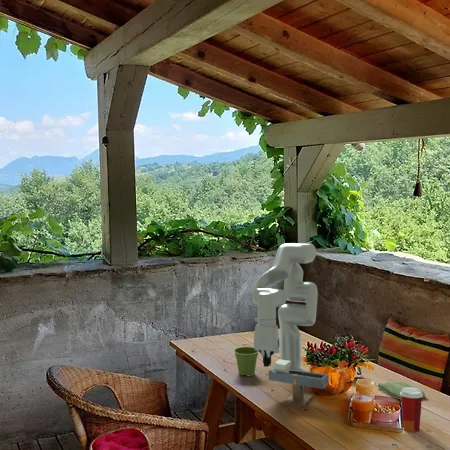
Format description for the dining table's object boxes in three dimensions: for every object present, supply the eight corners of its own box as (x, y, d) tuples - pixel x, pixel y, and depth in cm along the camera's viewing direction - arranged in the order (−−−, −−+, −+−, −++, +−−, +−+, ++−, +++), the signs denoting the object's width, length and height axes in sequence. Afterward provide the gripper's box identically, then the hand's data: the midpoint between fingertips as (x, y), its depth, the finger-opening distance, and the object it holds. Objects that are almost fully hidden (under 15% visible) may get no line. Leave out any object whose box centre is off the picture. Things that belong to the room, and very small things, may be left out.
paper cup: (417, 424, 209) (418, 386, 208) (425, 433, 201) (426, 394, 200) (396, 424, 209) (396, 387, 208) (403, 434, 201) (404, 394, 200)
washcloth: (401, 385, 251) (401, 378, 250) (427, 399, 234) (427, 391, 234) (375, 389, 247) (375, 381, 246) (399, 403, 230) (399, 395, 230)
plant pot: (229, 376, 264) (229, 352, 263) (240, 368, 274) (240, 345, 273) (252, 380, 258) (252, 355, 258) (263, 372, 269) (263, 348, 268)
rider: (273, 374, 234) (273, 363, 233) (279, 370, 239) (279, 359, 239) (284, 376, 231) (284, 365, 231) (290, 372, 237) (290, 360, 236)
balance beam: (266, 401, 233) (266, 372, 232) (277, 391, 243) (277, 364, 242) (320, 411, 222) (320, 381, 221) (330, 400, 232) (330, 372, 232)
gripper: (246, 322, 237) (246, 365, 238) (280, 326, 230) (280, 371, 231) (254, 318, 244) (254, 360, 245) (287, 322, 237) (287, 365, 238)
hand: (267, 365), depth 238 cm, fingers closed
